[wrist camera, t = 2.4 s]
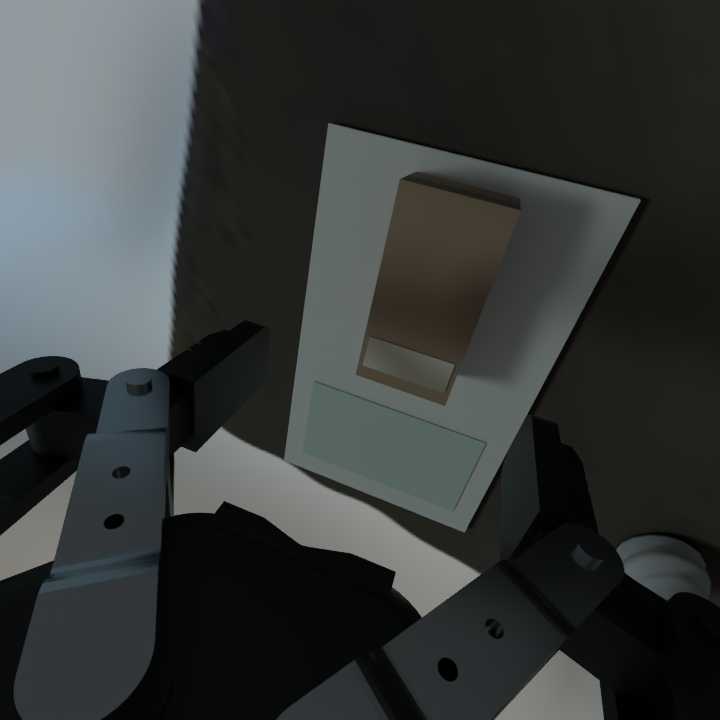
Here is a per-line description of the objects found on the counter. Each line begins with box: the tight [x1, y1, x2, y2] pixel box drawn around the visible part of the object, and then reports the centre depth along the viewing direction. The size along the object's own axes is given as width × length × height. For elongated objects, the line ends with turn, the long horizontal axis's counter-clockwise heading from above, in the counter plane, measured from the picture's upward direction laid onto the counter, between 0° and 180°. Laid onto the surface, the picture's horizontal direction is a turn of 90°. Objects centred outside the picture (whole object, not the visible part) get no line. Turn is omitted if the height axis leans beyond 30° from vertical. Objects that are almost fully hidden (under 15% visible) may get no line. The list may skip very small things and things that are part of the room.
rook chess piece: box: [616, 533, 711, 601], centre depth 21 cm, size 4×4×8 cm
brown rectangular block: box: [356, 172, 521, 406], centre depth 19 cm, size 9×4×3 cm, turn 168°
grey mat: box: [284, 123, 641, 532], centre depth 23 cm, size 21×13×1 cm, turn 168°
